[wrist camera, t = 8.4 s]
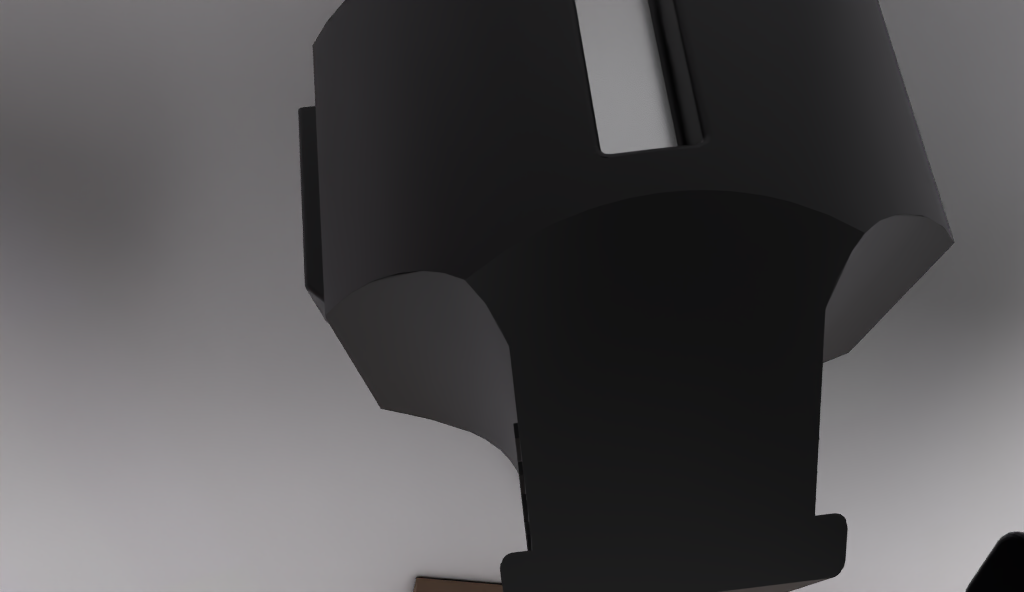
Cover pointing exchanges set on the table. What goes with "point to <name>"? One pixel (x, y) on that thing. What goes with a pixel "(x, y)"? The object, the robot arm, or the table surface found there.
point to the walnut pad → (453, 586)
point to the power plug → (620, 258)
